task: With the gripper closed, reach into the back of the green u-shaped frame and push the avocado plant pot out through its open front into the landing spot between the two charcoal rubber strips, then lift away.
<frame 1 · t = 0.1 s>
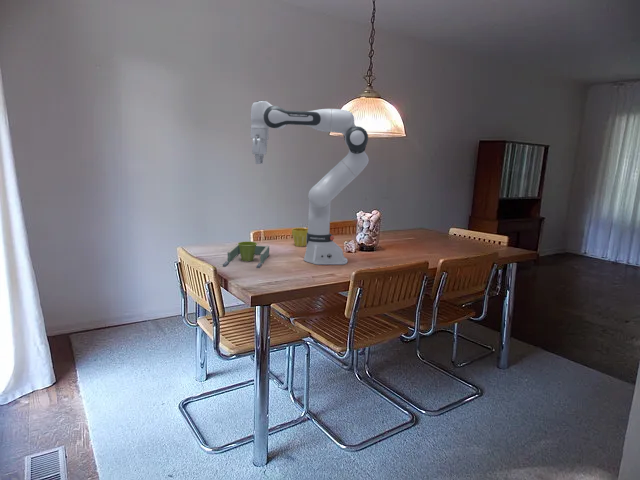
hand: (259, 163, 217), 48 cm above the table, tool pointing down, fingers open, 8 cm apart
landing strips: (242, 265, 208), on the table
plant pot 2: (247, 260, 219), on the table
green u-shaped frame: (249, 258, 224), on the table
plant pot: (300, 245, 260), on the table
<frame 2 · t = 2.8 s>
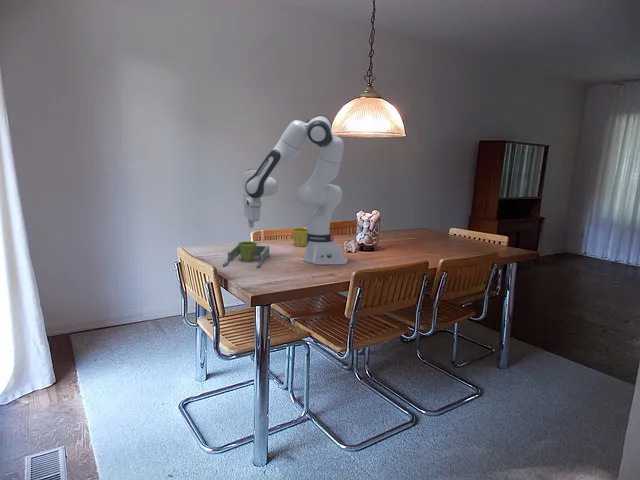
hand: (251, 227, 227), 15 cm above the table, tool pointing down, fingers closed
nothing on the table moved.
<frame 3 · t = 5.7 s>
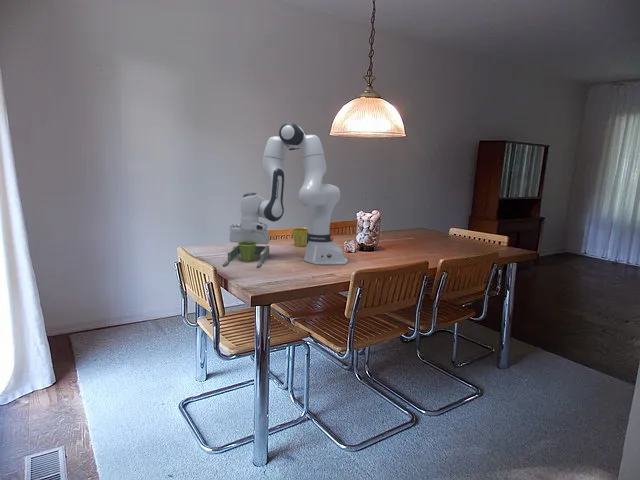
hand: (249, 251, 224), 3 cm above the table, tool pointing down, fingers closed
plant pot 2: (247, 260, 219), on the table, touching gripper
everything else where it was.
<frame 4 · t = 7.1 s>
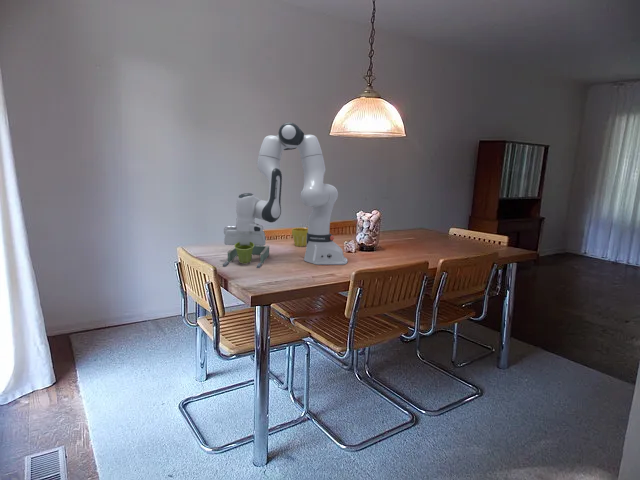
hand: (244, 253, 217), 4 cm above the table, tool pointing down, fingers closed, pressing on plant pot 2
plant pot 2: (245, 261, 215), on the table, touching gripper
everything else where it was.
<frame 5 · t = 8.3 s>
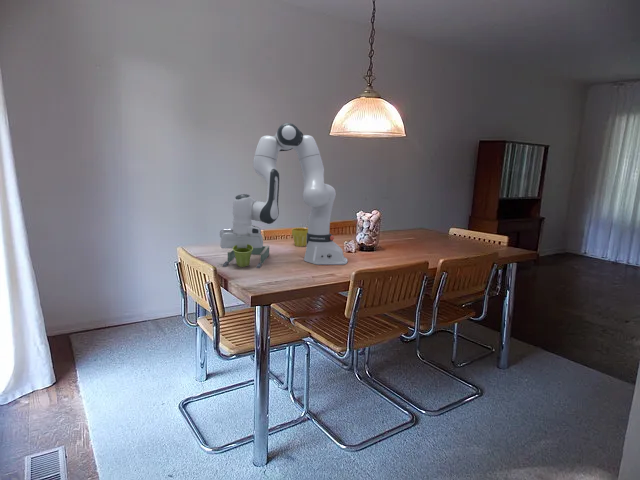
hand: (241, 256, 211), 4 cm above the table, tool pointing down, fingers closed, pressing on plant pot 2
plant pot 2: (243, 264, 208), on the table, touching gripper
everything else where it was.
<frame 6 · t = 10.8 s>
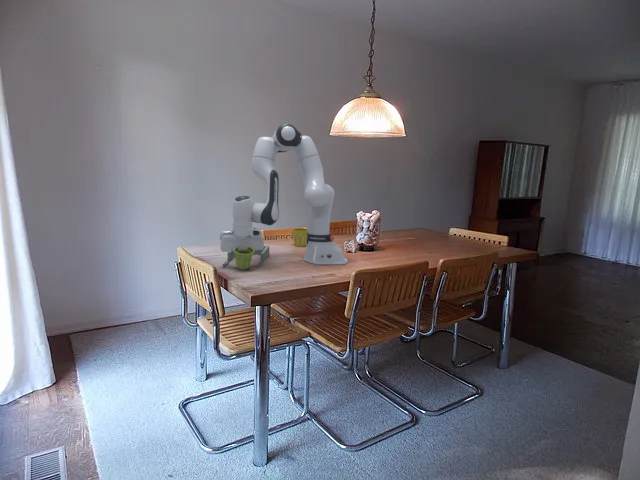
hand: (242, 259, 207), 3 cm above the table, tool pointing down, fingers closed
plant pot 2: (242, 267, 204), on the table
everything else where it was.
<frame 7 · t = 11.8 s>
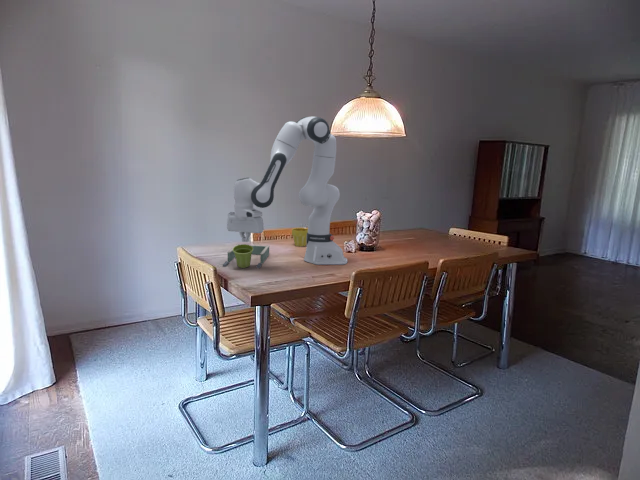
hand: (245, 241, 208), 11 cm above the table, tool pointing down, fingers closed
plant pot 2: (243, 265, 207), point 1 cm above the table
everything else where it was.
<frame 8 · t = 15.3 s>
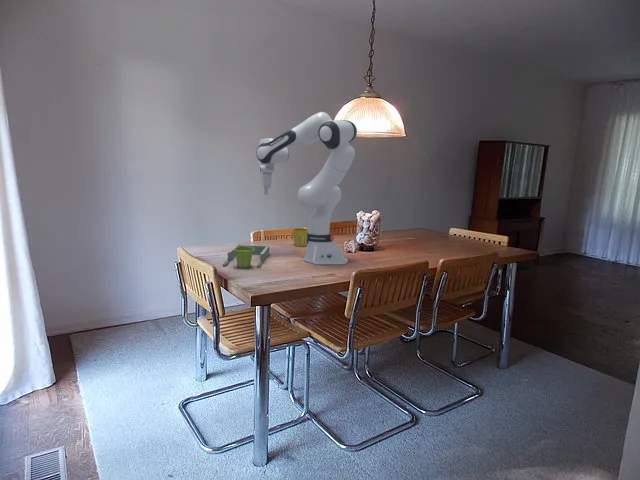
hand: (266, 194, 237), 31 cm above the table, tool pointing down, fingers closed
at the end: plant pot 2 inside the target area (1.1 cm from its centre), on the table; plant pot 2 tilted 2°; plant pot 2 touching table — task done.
